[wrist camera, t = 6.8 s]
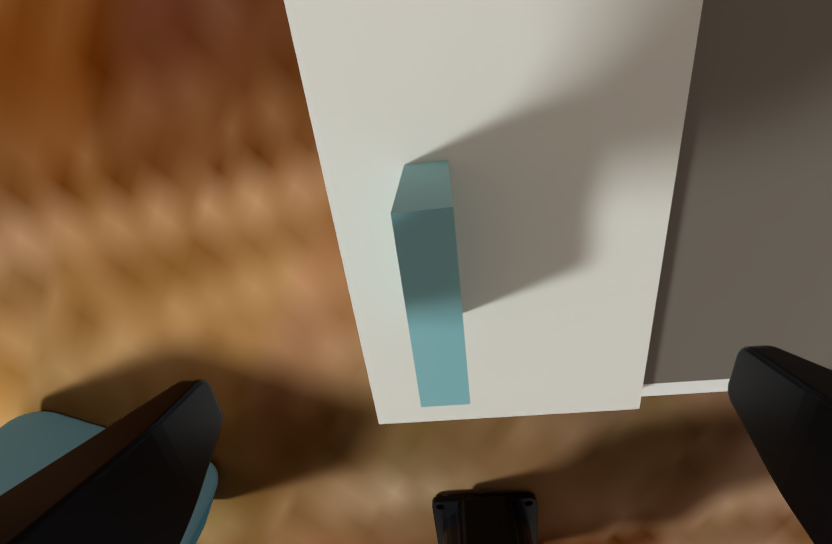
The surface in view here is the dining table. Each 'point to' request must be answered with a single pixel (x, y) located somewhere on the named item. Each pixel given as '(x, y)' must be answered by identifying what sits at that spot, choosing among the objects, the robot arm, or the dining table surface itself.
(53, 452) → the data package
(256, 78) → the dining table surface
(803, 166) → the carton
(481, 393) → the flap
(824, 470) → the robot arm
